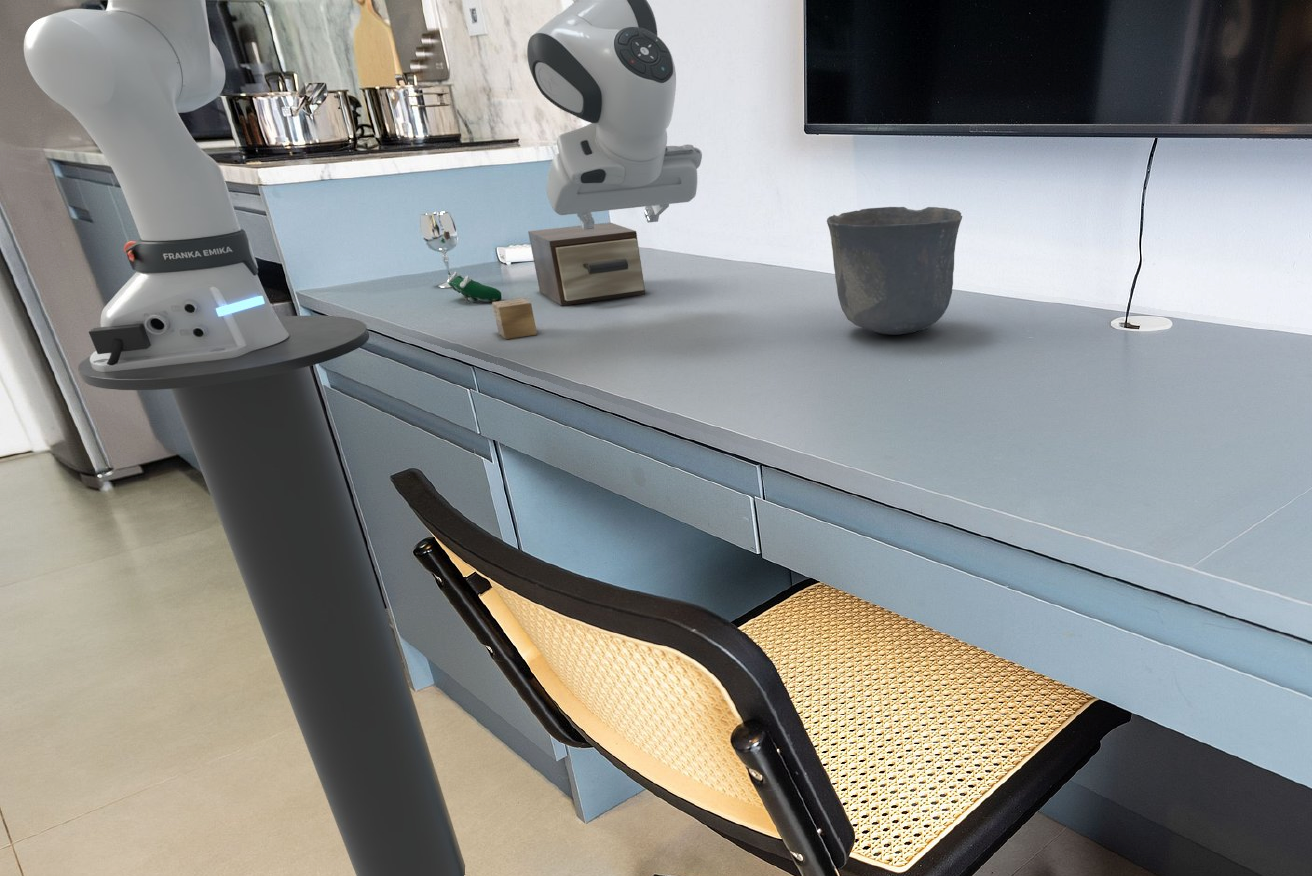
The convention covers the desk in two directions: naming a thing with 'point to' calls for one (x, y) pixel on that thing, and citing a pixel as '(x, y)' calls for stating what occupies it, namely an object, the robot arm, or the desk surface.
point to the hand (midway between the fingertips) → (619, 221)
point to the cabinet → (550, 238)
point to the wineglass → (439, 235)
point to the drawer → (600, 268)
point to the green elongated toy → (473, 289)
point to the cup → (894, 266)
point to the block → (514, 318)
